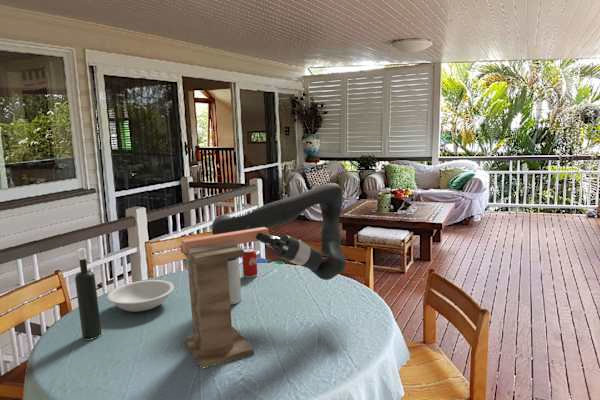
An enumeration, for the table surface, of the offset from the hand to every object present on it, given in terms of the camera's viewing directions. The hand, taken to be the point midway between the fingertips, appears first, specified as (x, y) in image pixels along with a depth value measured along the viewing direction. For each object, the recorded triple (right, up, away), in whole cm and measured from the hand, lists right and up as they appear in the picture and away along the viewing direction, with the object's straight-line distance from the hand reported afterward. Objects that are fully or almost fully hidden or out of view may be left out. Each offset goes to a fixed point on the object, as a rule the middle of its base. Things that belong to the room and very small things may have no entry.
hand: (251, 232), depth 141 cm
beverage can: (-7, -24, +64) cm, 69 cm away
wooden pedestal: (-10, -35, 0) cm, 37 cm away
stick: (-7, -3, -3) cm, 8 cm away
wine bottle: (-54, -35, +11) cm, 65 cm away
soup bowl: (-45, -31, +34) cm, 64 cm away
